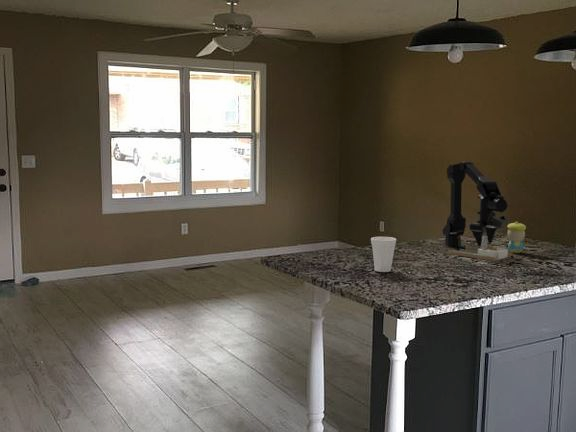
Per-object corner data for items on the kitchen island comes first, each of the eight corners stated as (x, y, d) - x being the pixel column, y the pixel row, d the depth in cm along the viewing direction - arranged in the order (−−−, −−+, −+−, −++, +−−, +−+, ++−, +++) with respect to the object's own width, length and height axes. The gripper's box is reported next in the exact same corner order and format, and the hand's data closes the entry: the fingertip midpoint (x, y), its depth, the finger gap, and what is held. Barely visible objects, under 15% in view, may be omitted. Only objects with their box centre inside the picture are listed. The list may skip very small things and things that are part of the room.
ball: (495, 250, 272) (494, 258, 272) (498, 249, 274) (498, 256, 274) (487, 249, 274) (487, 257, 274) (491, 248, 277) (491, 256, 277)
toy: (521, 252, 290) (523, 220, 288) (526, 256, 281) (528, 223, 279) (503, 251, 291) (505, 219, 289) (508, 255, 282) (510, 222, 280)
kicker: (477, 254, 278) (478, 236, 277) (481, 253, 280) (482, 235, 279) (485, 256, 275) (486, 237, 274) (490, 255, 277) (490, 236, 276)
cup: (365, 269, 251) (366, 237, 249) (386, 267, 255) (387, 235, 253) (378, 274, 242) (379, 241, 240) (400, 272, 245) (401, 239, 244)
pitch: (447, 255, 281) (447, 250, 281) (466, 250, 293) (466, 246, 292) (493, 262, 266) (493, 257, 266) (511, 257, 277) (511, 252, 277)
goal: (486, 258, 271) (486, 250, 271) (497, 255, 278) (497, 247, 278) (496, 260, 268) (497, 252, 267) (507, 257, 275) (508, 249, 274)
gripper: (493, 213, 262) (491, 249, 265) (514, 209, 275) (512, 244, 278) (469, 210, 270) (467, 246, 272) (490, 207, 283) (488, 241, 285)
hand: (484, 244), depth 277 cm, fingers open, 9 cm apart
